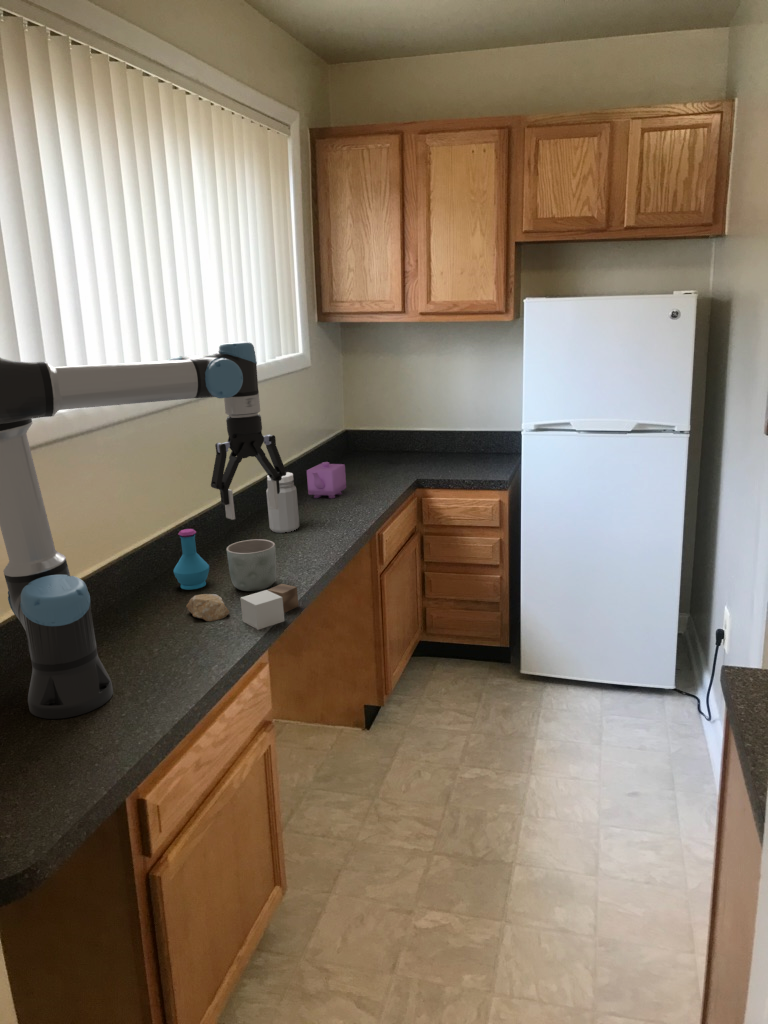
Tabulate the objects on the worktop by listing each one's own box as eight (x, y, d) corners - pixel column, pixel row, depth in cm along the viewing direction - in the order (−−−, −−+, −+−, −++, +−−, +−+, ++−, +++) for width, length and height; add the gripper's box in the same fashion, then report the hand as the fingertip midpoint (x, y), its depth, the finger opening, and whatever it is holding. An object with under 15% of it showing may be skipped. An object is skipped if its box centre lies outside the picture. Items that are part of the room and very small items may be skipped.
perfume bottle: (192, 577, 228) (186, 524, 224) (218, 582, 223) (212, 527, 219) (168, 588, 220) (161, 533, 217) (194, 593, 216) (187, 537, 212)
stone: (219, 604, 207) (217, 587, 206) (231, 617, 198) (229, 599, 197) (185, 611, 204) (183, 594, 202) (196, 625, 194) (194, 607, 193)
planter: (242, 598, 210) (238, 556, 207) (223, 585, 220) (218, 545, 217) (286, 586, 217) (283, 546, 214) (265, 575, 227) (262, 536, 224)
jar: (295, 533, 265) (290, 477, 260) (265, 533, 267) (260, 478, 262) (303, 525, 274) (298, 471, 270) (274, 525, 276) (269, 471, 271)
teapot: (325, 489, 323) (322, 457, 320) (349, 490, 319) (347, 458, 316) (302, 502, 305) (299, 468, 302) (327, 503, 301) (324, 469, 298)
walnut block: (284, 613, 199) (282, 593, 197) (269, 609, 202) (267, 589, 200) (298, 606, 203) (296, 586, 201) (283, 602, 206) (281, 583, 204)
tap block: (258, 630, 190) (255, 605, 188) (242, 622, 195) (240, 597, 193) (284, 621, 194) (282, 597, 192) (268, 613, 199) (266, 589, 198)
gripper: (203, 423, 173) (214, 526, 178) (297, 409, 186) (304, 506, 192) (187, 420, 178) (198, 520, 184) (279, 407, 192) (287, 500, 198)
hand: (252, 513), depth 188 cm, fingers open, 10 cm apart
